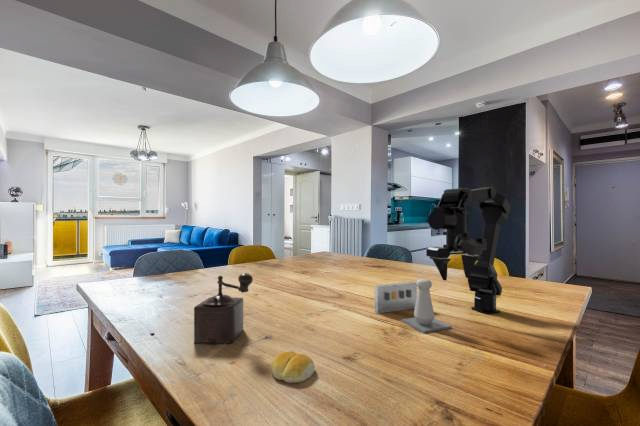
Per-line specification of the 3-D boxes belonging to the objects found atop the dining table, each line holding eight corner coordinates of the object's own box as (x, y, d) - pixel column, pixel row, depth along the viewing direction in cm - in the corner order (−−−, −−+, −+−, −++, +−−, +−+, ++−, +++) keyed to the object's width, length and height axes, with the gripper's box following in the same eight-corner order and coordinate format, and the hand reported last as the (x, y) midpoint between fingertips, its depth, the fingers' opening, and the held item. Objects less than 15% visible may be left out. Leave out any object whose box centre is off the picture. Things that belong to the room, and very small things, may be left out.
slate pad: (427, 317, 97) (427, 315, 97) (451, 328, 88) (451, 326, 88) (401, 321, 93) (401, 319, 93) (423, 333, 84) (423, 330, 84)
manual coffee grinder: (191, 344, 77) (191, 274, 77) (209, 328, 88) (209, 267, 88) (250, 346, 77) (250, 275, 77) (261, 329, 88) (261, 267, 88)
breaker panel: (413, 306, 108) (413, 281, 108) (418, 308, 106) (418, 283, 106) (374, 311, 103) (374, 285, 103) (379, 314, 100) (378, 287, 100)
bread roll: (287, 360, 70) (286, 342, 70) (319, 370, 65) (319, 351, 65) (262, 376, 62) (262, 356, 63) (297, 389, 58) (297, 368, 58)
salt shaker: (431, 328, 86) (430, 282, 86) (411, 323, 90) (411, 280, 90) (436, 322, 91) (436, 279, 91) (417, 318, 94) (417, 276, 94)
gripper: (452, 230, 83) (453, 287, 83) (501, 229, 90) (501, 281, 90) (425, 229, 93) (425, 279, 93) (470, 227, 100) (470, 274, 100)
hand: (456, 279), depth 94 cm, fingers open, 9 cm apart
